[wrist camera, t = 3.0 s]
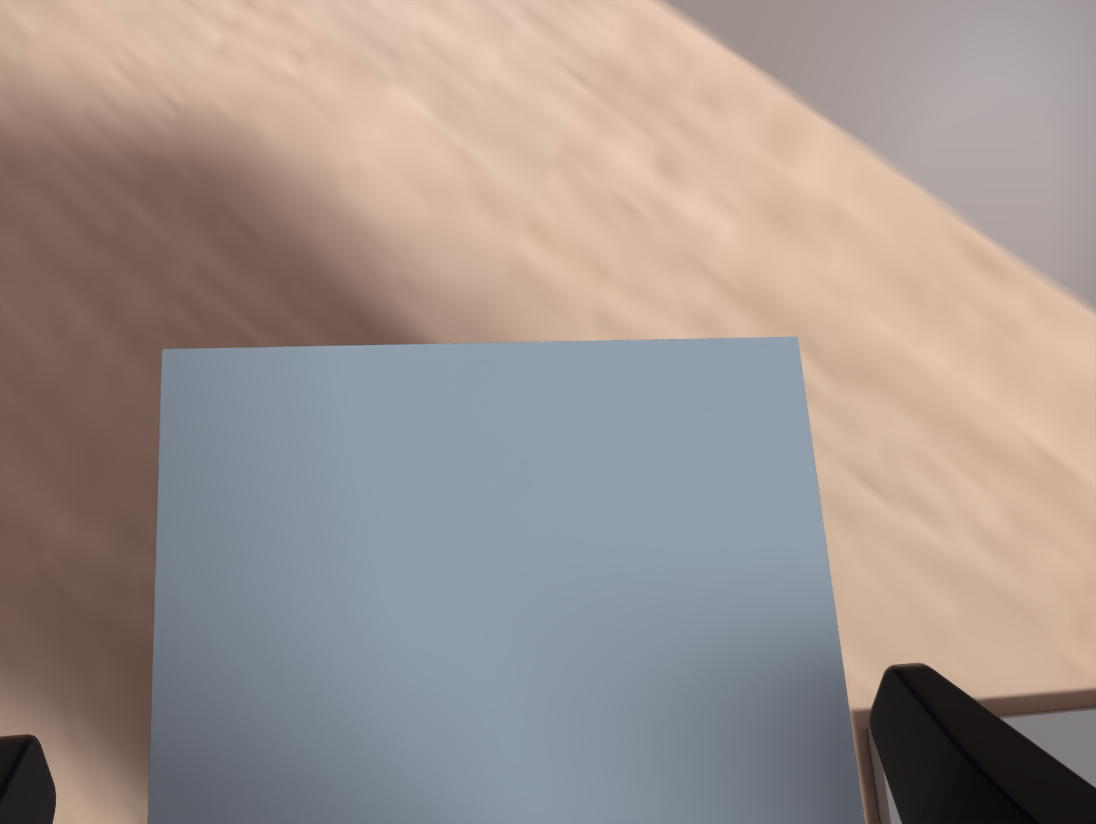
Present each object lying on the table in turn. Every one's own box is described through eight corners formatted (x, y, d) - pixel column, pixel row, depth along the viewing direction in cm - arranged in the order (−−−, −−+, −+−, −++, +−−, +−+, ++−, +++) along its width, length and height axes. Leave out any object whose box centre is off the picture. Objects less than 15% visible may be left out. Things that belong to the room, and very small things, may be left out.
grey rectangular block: (626, 947, 16) (942, 1384, 7) (299, 989, 15) (125, 1561, 6) (590, 498, 18) (797, 336, 9) (296, 512, 17) (163, 349, 8)
